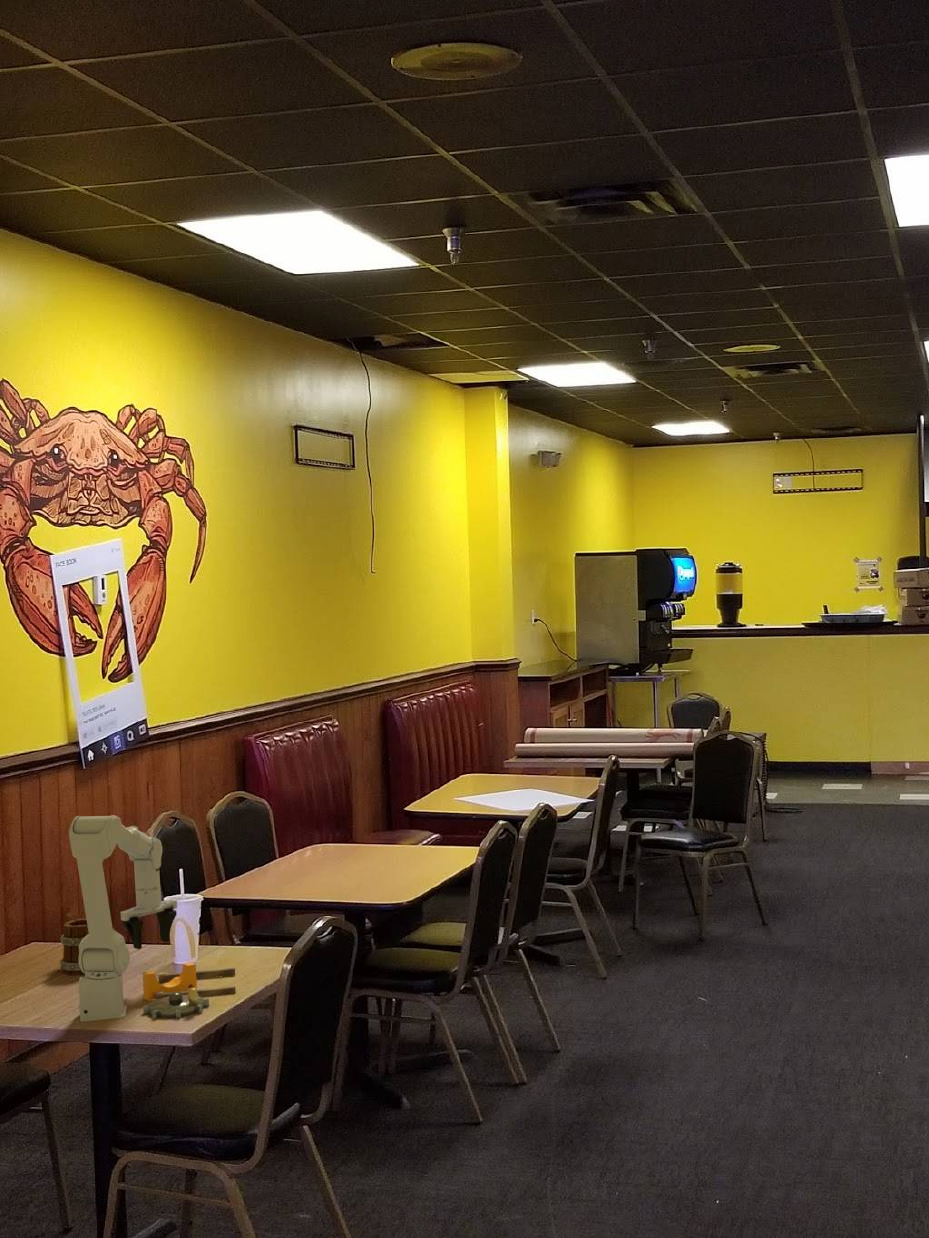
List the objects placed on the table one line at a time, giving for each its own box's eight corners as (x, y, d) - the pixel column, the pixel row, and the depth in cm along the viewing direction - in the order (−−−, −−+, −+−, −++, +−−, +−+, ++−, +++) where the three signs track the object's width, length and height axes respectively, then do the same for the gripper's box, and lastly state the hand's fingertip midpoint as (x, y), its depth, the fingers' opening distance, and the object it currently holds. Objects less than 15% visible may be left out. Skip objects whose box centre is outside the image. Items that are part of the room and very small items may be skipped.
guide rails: (155, 1001, 326) (154, 993, 326) (159, 981, 344) (158, 973, 344) (235, 994, 329) (235, 985, 328) (235, 973, 346) (234, 965, 346)
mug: (71, 978, 350) (63, 916, 351) (50, 977, 361) (43, 917, 363) (116, 968, 357) (109, 907, 359) (94, 968, 368) (87, 909, 370)
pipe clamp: (188, 988, 336) (187, 960, 336) (197, 991, 333) (195, 964, 333) (140, 999, 329) (139, 971, 329) (148, 1002, 326) (147, 974, 326)
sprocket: (129, 1015, 315) (128, 992, 315) (173, 997, 327) (172, 975, 327) (179, 1021, 308) (178, 998, 308) (222, 1003, 320) (221, 981, 320)
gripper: (131, 895, 331) (135, 954, 332) (183, 883, 342) (186, 940, 342) (114, 892, 336) (117, 949, 337) (165, 880, 347) (169, 936, 347)
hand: (151, 944), depth 340 cm, fingers open, 7 cm apart
